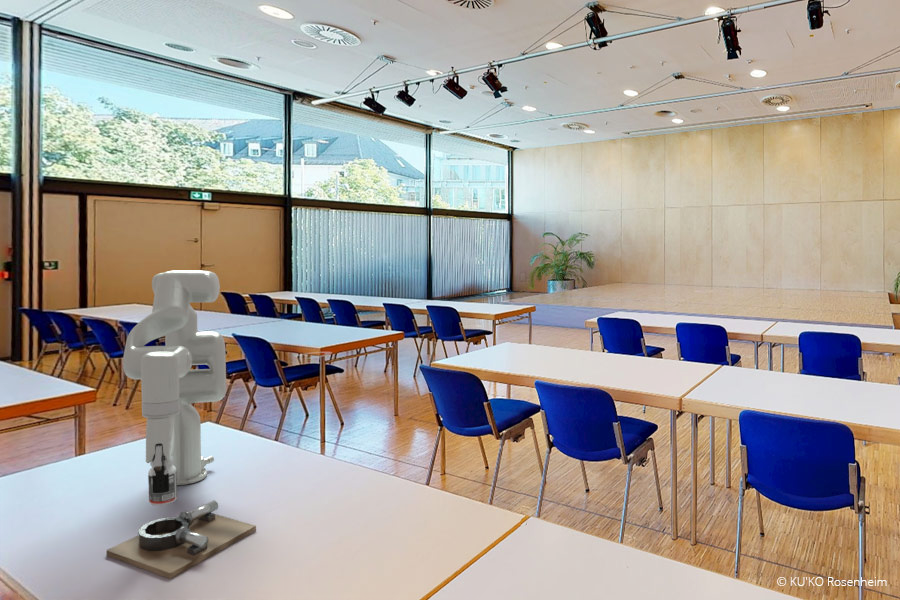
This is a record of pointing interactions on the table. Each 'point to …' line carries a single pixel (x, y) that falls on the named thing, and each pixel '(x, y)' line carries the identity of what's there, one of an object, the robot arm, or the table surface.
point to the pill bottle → (171, 495)
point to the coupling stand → (180, 540)
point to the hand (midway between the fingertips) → (162, 485)
